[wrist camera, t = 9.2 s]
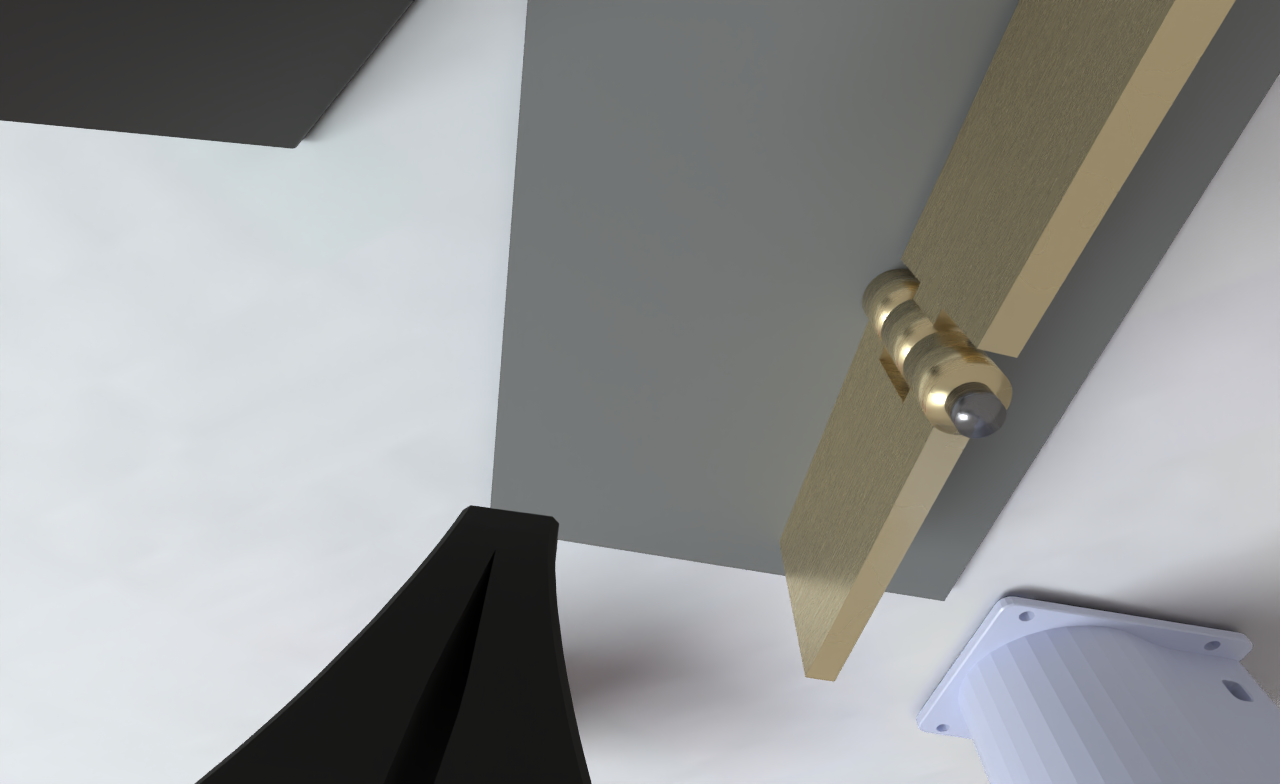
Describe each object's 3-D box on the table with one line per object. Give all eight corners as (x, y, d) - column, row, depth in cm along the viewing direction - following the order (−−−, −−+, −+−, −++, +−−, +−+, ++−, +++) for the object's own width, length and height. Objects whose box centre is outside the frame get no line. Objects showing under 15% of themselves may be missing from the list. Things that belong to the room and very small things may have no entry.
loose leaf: (912, 336, 17) (986, 442, 13) (855, 323, 17) (911, 426, 13) (1145, -125, 12) (1382, -183, 8) (1064, -149, 12) (1264, -219, 8)
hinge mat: (1408, -166, 12) (1434, -172, 12) (939, 590, 23) (944, 601, 23) (560, -370, 11) (555, -385, 11) (492, 518, 22) (488, 528, 22)
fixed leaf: (875, 263, 16) (958, 375, 12) (936, 275, 16) (1042, 390, 12) (767, 540, 22) (794, 695, 17) (814, 547, 22) (854, 704, 17)
